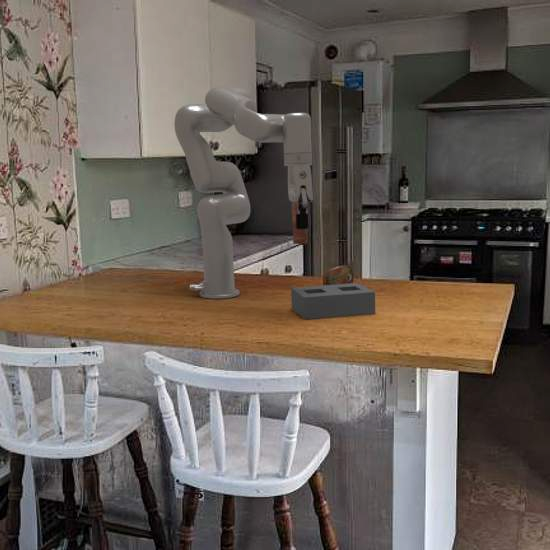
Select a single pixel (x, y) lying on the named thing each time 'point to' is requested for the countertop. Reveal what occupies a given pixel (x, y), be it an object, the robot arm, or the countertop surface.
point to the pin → (298, 234)
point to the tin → (338, 276)
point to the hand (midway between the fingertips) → (300, 227)
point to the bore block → (332, 300)
